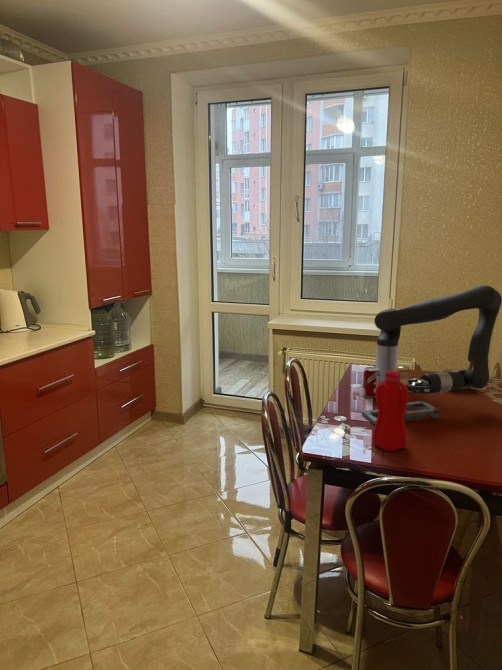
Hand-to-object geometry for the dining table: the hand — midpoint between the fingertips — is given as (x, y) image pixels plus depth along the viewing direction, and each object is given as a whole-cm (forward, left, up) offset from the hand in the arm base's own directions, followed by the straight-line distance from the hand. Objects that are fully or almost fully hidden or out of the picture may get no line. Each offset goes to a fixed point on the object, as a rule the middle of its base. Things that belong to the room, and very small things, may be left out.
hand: (395, 387), depth 176 cm
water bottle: (+22, -13, -12) cm, 28 cm away
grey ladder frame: (0, +3, -12) cm, 12 cm away
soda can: (-23, +3, -12) cm, 26 cm away
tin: (-22, +43, -12) cm, 50 cm away
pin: (0, +3, -8) cm, 9 cm away
